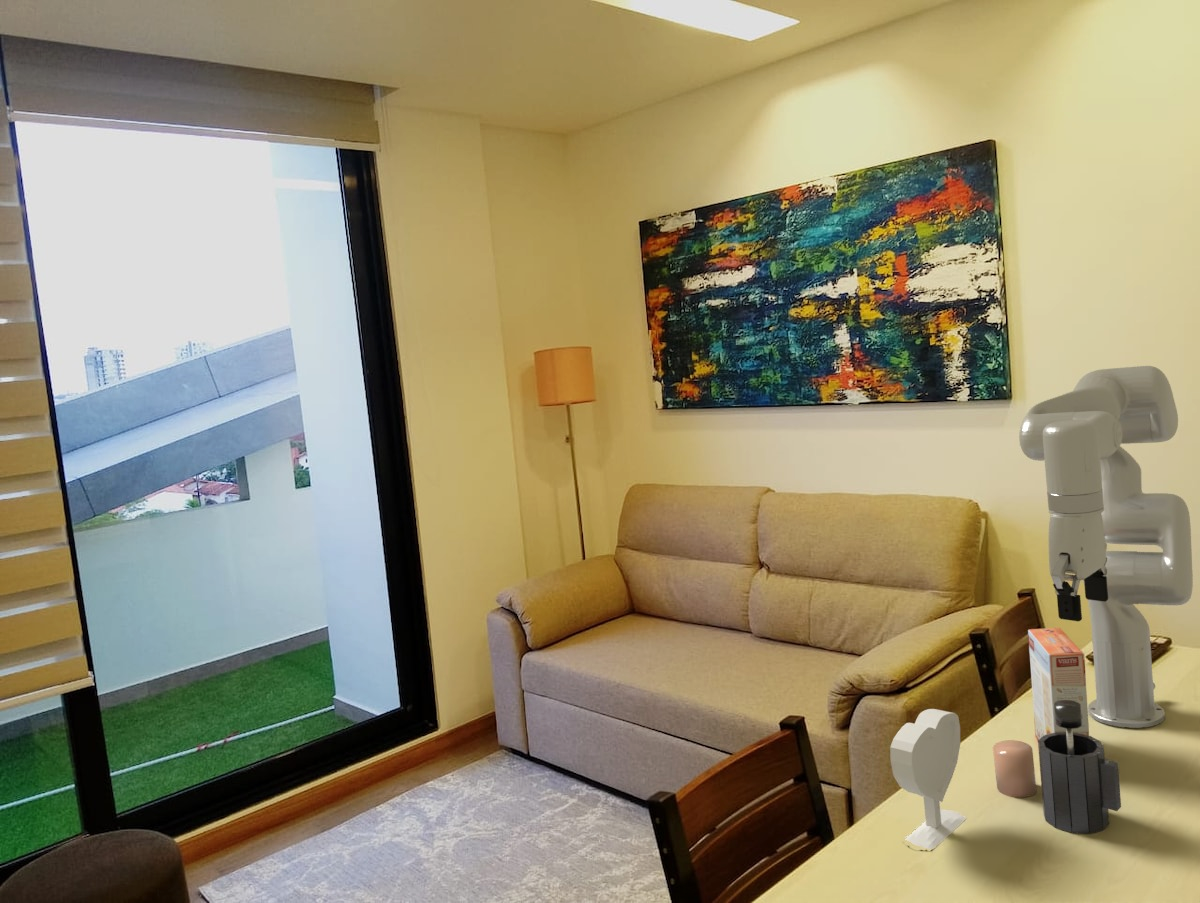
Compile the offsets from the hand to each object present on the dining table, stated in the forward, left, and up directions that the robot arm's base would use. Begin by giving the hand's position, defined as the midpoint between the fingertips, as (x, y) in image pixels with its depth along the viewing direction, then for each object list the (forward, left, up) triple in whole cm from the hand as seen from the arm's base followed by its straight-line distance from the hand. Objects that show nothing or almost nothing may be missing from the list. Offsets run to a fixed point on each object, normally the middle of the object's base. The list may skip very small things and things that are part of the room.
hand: (1083, 609), depth 143 cm
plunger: (+6, -1, -28) cm, 29 cm away
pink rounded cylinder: (+2, -12, -32) cm, 34 cm away
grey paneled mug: (+6, -1, -32) cm, 32 cm away
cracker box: (-14, -11, -32) cm, 37 cm away
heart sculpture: (+21, -16, -32) cm, 42 cm away
